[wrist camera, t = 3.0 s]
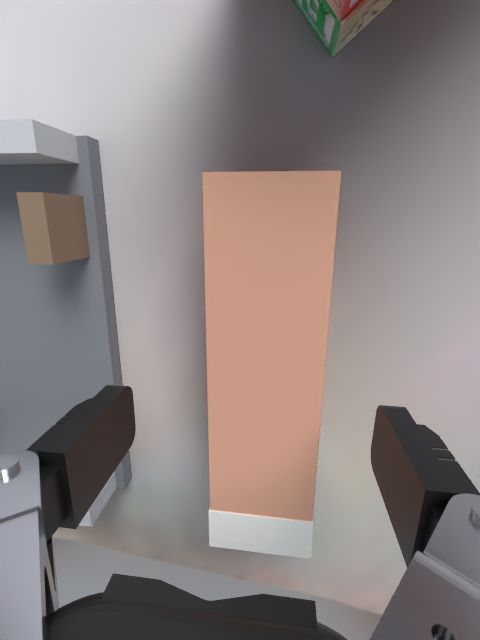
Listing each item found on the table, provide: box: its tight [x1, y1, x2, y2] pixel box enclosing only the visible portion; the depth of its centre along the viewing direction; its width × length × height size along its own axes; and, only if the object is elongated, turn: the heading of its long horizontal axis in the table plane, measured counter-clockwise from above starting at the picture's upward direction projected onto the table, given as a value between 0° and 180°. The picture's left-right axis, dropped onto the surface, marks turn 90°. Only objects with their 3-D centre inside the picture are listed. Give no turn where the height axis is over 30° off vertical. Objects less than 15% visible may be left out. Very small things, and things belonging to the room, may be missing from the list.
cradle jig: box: [0, 119, 131, 527], centre depth 19 cm, size 10×20×4 cm, turn 179°
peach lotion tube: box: [202, 171, 341, 559], centre depth 16 cm, size 5×16×6 cm, turn 179°
